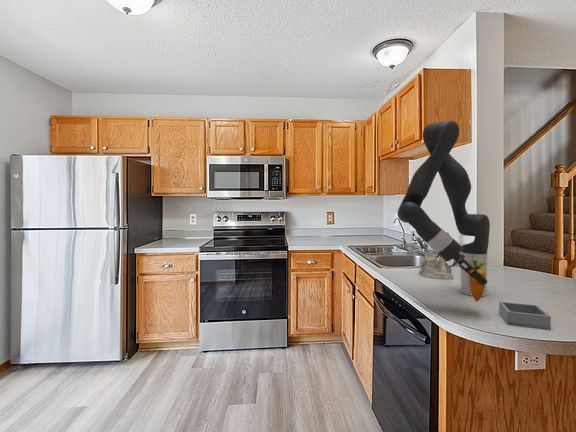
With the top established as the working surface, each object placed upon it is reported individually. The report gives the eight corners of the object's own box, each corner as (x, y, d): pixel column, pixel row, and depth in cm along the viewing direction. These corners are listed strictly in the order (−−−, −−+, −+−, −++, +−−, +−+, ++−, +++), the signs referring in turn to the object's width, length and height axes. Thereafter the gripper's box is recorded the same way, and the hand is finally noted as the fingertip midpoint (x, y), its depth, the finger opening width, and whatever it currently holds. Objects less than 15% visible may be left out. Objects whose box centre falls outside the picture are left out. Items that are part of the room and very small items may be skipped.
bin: (499, 312, 104) (499, 301, 104) (537, 317, 100) (537, 305, 100) (507, 324, 94) (508, 311, 94) (550, 329, 90) (550, 316, 90)
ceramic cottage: (453, 280, 147) (452, 249, 147) (416, 277, 155) (415, 248, 156) (454, 275, 160) (453, 247, 160) (420, 273, 168) (420, 246, 169)
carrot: (479, 298, 106) (479, 256, 105) (488, 303, 101) (489, 259, 100) (465, 299, 106) (465, 257, 105) (474, 304, 101) (474, 260, 100)
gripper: (454, 240, 99) (498, 280, 95) (450, 235, 112) (488, 269, 108) (436, 255, 101) (478, 294, 97) (434, 248, 114) (471, 283, 110)
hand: (483, 281), depth 102 cm, fingers closed on carrot, 4 cm apart
